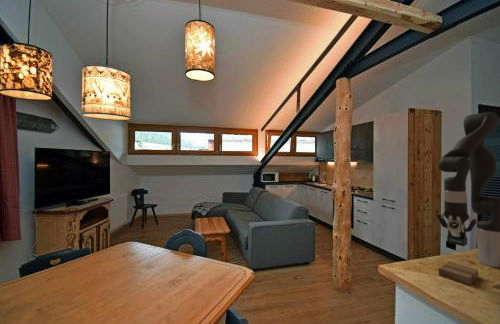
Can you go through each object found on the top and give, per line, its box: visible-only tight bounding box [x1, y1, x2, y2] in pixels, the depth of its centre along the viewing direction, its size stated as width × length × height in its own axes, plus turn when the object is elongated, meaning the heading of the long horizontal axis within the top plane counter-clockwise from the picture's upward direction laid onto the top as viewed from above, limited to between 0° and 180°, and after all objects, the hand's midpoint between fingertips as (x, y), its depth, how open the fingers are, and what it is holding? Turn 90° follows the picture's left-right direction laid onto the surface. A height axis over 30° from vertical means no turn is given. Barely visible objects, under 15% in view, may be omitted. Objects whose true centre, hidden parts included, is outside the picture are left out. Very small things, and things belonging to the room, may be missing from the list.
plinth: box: [438, 261, 479, 286], centre depth 96 cm, size 12×10×3 cm
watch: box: [446, 220, 468, 247], centre depth 96 cm, size 6×8×11 cm
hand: (456, 238), depth 97 cm, fingers closed on watch, 3 cm apart
